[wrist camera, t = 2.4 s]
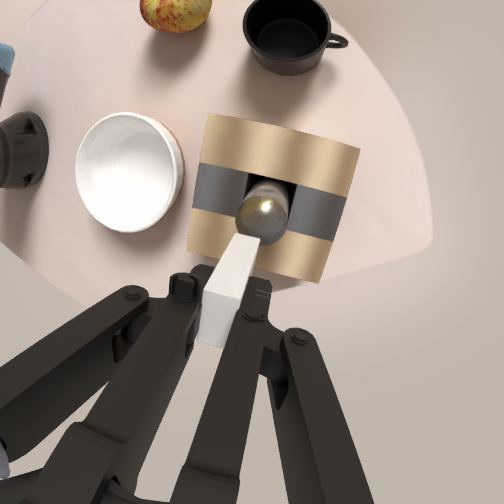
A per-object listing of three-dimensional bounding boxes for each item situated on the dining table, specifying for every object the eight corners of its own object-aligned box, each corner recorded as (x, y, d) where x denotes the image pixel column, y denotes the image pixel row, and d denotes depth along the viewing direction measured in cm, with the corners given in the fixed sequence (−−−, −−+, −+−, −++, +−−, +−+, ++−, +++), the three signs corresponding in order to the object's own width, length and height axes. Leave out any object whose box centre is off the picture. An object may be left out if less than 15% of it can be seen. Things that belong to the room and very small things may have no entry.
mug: (339, 84, 34) (352, 72, 26) (249, 72, 35) (237, 57, 26) (344, 24, 30) (356, 0, 22) (256, 13, 31) (247, -13, 23)
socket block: (208, 224, 44) (186, 250, 35) (228, 116, 38) (208, 113, 28) (313, 250, 44) (318, 283, 35) (344, 143, 37) (360, 148, 28)
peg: (246, 210, 34) (230, 239, 26) (254, 173, 32) (240, 190, 24) (283, 220, 34) (280, 251, 26) (292, 183, 32) (293, 203, 24)
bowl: (200, 113, 38) (180, 110, 31) (194, 221, 44) (175, 240, 37) (105, 115, 39) (74, 116, 32) (105, 211, 46) (78, 226, 38)
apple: (172, -11, 30) (144, -37, 21) (228, -7, 30) (211, -38, 21) (153, 38, 34) (119, 21, 24) (209, 45, 34) (185, 23, 24)
